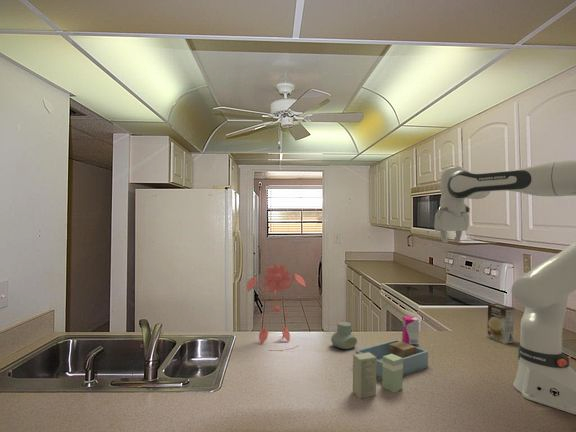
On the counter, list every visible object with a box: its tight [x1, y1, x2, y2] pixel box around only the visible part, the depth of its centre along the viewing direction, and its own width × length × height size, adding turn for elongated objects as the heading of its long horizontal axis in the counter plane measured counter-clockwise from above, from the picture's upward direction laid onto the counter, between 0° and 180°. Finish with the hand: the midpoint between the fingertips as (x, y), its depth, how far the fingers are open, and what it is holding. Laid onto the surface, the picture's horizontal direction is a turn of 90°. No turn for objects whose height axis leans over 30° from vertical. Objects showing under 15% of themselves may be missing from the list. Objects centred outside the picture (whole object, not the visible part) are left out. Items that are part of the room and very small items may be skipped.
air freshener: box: [330, 321, 358, 350], centre depth 148 cm, size 11×8×10 cm
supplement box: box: [401, 315, 420, 346], centre depth 154 cm, size 6×6×12 cm
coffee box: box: [486, 302, 515, 345], centre depth 161 cm, size 9×6×16 cm
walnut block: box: [389, 340, 417, 358], centre depth 133 cm, size 7×7×6 cm
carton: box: [381, 354, 404, 393], centre depth 113 cm, size 5×5×10 cm
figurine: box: [246, 263, 307, 352], centre depth 149 cm, size 15×26×35 cm, turn 103°
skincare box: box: [352, 352, 377, 399], centre depth 109 cm, size 6×4×12 cm
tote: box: [354, 339, 429, 381], centre depth 129 cm, size 15×24×6 cm, turn 124°
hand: (451, 242), depth 138 cm, fingers open, 8 cm apart
